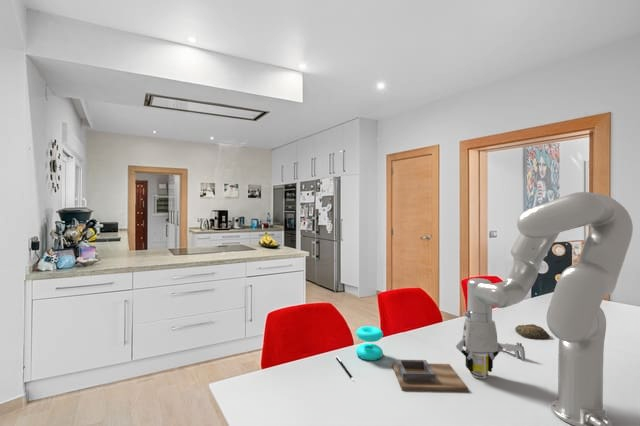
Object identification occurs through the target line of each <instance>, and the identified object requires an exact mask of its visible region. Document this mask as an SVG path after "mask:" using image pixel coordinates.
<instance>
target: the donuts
mask: <svg viewBox="0 0 640 426" xmlns="http://www.w3.org/2000/svg"><path fill="white" fill-rule="evenodd" d="M356 336H357V337H358V339H359V340H360V341H364V342H368V343H362V344H360V345H358V346H357V348H356V350H355V352H356V355H357V356H358V357H359V358H360V359H363V360H365V361H366V360H367V361H377V360H379V359H381V358H382V356H383V354H384V352H383V349H382V348H381V346H379V345H377V344H375V343H373V342H378V341H380V340H381V339H382V338H383V337H384V333H383V331H382V330H381V328H379V327H377V326H371V325H366V326H365V325H364V326H360V327H358V328H357V329H356Z"/></svg>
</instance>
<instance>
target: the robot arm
mask: <svg viewBox="0 0 640 426" xmlns="http://www.w3.org/2000/svg"><path fill="white" fill-rule="evenodd" d="M516 223H517V224H516V226H517V229H518V231H519V235H518V236H517V239H516V240H515V242H514V244H513V245H512V247H511V249H510V254H511V256H512V257H513V261H514V263H513V266H512V268H511V271H510V273H509V274H508V276H507V278H506V279H505V280H504V281H500V282H496V283H495V282H494V283H492V281H490V280H489V279H487V278H486V279H485V278H479V277H473V278H469V280H468V281H467V299H466V300H467V303H466V304H467V305H466V307H467V309H466V311H465V312H464V311H463V313H462V315H463V317H466V318H465V319H464V323H463V328H462V329H463V330H462V339H461V340H460V341H458V343H457V344H456V345H455V347H456V349H457V350H458V351H459V352H460V353H462V355H463V356H464V357H465V367H466V369H467V370H468V371H469V373H470V372H472V371H473V360H472V359H471V357H472V354H473V352H484V353H488V373H492V372H493V370H492V369H493V367H494V365H493V364H494V362H493V361H494V360H495V358H496V357H497V356H498V354H499V353H500V352H502V351H503V350H504V348H502V346H501V345H500V344H499V343H500V342H498V332H497V325H496V321H495V320H493V307H494V308H497V309H504V308H505V309H506V308H508V307H510V306H513V305H516V304H518V303H520V302H522V301H523V300H524V299H525V298H526V297H527V295H528V294H529V292H531V291H530V290H531V289H532V287H533V286H534V284H535V282H536V280H537V278H538V275H539V271H540V267H541V264H542V262H543V261H544V259H545V257H546V256H547V254H548V252H549V251H550V249H551V247H553V245H554V243H555V241H556V239H557V238H558V237H559V235H560V234H561V233H564V232H566V231H570V230H573V229H577V228H582V227H587V226H589V233H588V235H587V237H586V239H585V240H584V241H585V242H584V243H583V247H582V251H581V253H580V256H579V258H578V261H577V263H575V264H571V265H570V266H568V267H566V268H565V269H564V270H563V271H562V273H561V274H560V275H559V277H558V279H557V280H556V281H557V282H556V285H555V286H554V287H555V288H554V290H553V294H552V296H551V299H550V302H549V306H548V309H547V311H546V316H545V319H546V325H547V328H548V330H549V332H551V333H552V335H553V336H554V337H555V338H557V339H558V357H557V358H558V363H557V364H558V367H557V371H558V372H557V374H558V375H557V378H558V379H557V380H558V381H557V399H555V400H553V401H552V402H551V403H550V408H551V412H552V413H553V414H554V415H555V416H557V418H559V419H560V420H561V421H564V422H565V423H567V424H570V425H572V426H613V424H612V422H611V419H610V417H609V416H607V414H606V410H605V409H604V407H603V406H604V404H603V403H604V354H605V353H604V352H605V351H604V349H605V339H606V331H607V317H606V314H605V312H604V310H603V309H602V307H601V304H602V302H603V299H604V298H606V297H609V296H610V295H611V294H613V293H614V291H615V289H616V286H617V283H618V279H619V276H620V274H621V271H622V267H623V265H624V262H625V259H626V256H627V253H628V250H629V247H630V244H631V241H632V237H633V231H634V229H633V228H634V227H633V226H634V225H633V220H632V217H631V216H630V213H629V211H628V210H627V209H626V208H625V207H624V206H623V205H622V203H620V202H619V201H617V200H616V199H614V198H613V197H610V196H609V195H605V194H603V193H598V192H588V191H579V192H573V193H570V194H567V195H564V196H561V197H559V198H556V199H553V200H550V201H547V202H544V203H541V204H539V205H536V206H532V207H530V208H527V209H525V210H524V211H522V212H521V213H520V214H519V217H518V218H517V221H516ZM463 347H464V348H465V349H464V348H463Z"/></svg>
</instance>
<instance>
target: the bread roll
mask: <svg viewBox="0 0 640 426" xmlns="http://www.w3.org/2000/svg"><path fill="white" fill-rule="evenodd" d="M514 329H515V333H517V334H518V335H520V336H521V337H522V338H525V339H531V340H549V339H550V334H549V333H548V332H547V331H546V330H545V329H544V328H543V327H542V326H539V325H536V324H531V323H529V324H522V325H521V324H518V325H516V327H515V328H514Z"/></svg>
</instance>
